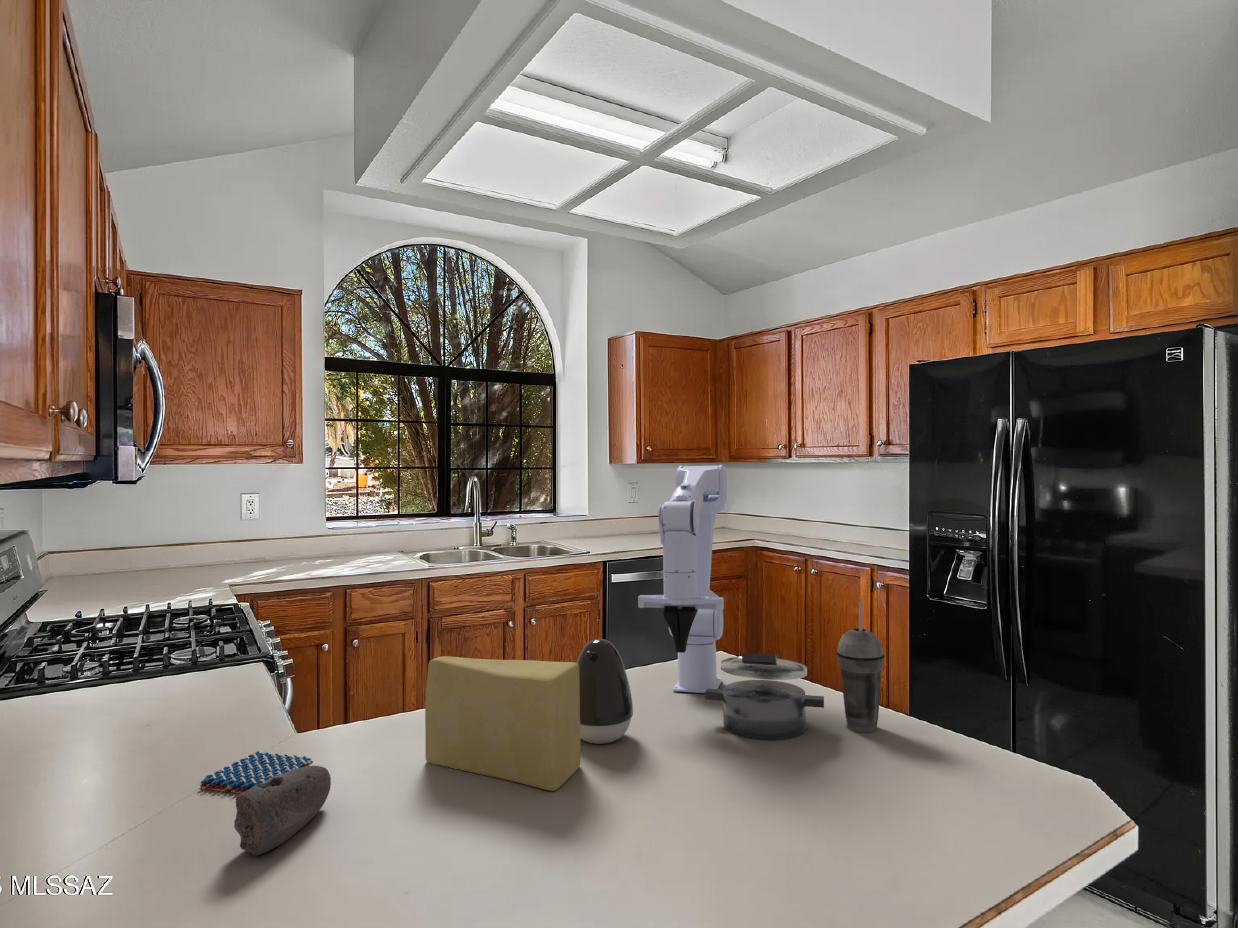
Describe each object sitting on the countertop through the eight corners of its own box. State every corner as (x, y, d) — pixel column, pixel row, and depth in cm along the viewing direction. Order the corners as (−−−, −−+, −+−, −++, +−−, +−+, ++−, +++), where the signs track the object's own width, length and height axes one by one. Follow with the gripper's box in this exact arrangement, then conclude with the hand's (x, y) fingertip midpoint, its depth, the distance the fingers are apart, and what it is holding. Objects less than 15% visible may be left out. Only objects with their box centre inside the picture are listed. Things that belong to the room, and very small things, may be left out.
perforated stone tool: (312, 802, 90) (311, 746, 90) (348, 806, 89) (348, 749, 89) (216, 864, 76) (216, 797, 76) (257, 870, 74) (257, 802, 74)
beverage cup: (879, 720, 117) (876, 597, 117) (892, 736, 110) (889, 604, 110) (833, 719, 117) (831, 597, 118) (843, 735, 110) (840, 604, 111)
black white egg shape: (557, 747, 107) (555, 644, 108) (580, 724, 117) (579, 630, 117) (622, 753, 104) (620, 648, 105) (641, 729, 114) (639, 633, 115)
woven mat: (317, 769, 102) (317, 754, 102) (261, 802, 91) (261, 786, 91) (256, 762, 104) (256, 748, 104) (195, 793, 94) (195, 778, 94)
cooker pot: (712, 708, 124) (712, 676, 124) (824, 716, 119) (823, 683, 119) (700, 734, 111) (699, 698, 112) (824, 744, 106) (823, 707, 107)
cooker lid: (726, 677, 123) (726, 666, 124) (808, 682, 119) (808, 670, 120) (713, 659, 110) (714, 646, 111) (805, 664, 106) (805, 651, 107)
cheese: (406, 774, 98) (405, 664, 98) (446, 749, 107) (445, 648, 108) (554, 795, 91) (553, 676, 91) (583, 766, 100) (582, 658, 100)
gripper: (633, 573, 121) (634, 654, 121) (719, 574, 117) (720, 658, 117) (643, 568, 128) (644, 645, 127) (724, 569, 124) (726, 649, 123)
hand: (681, 651), depth 122 cm, fingers closed
